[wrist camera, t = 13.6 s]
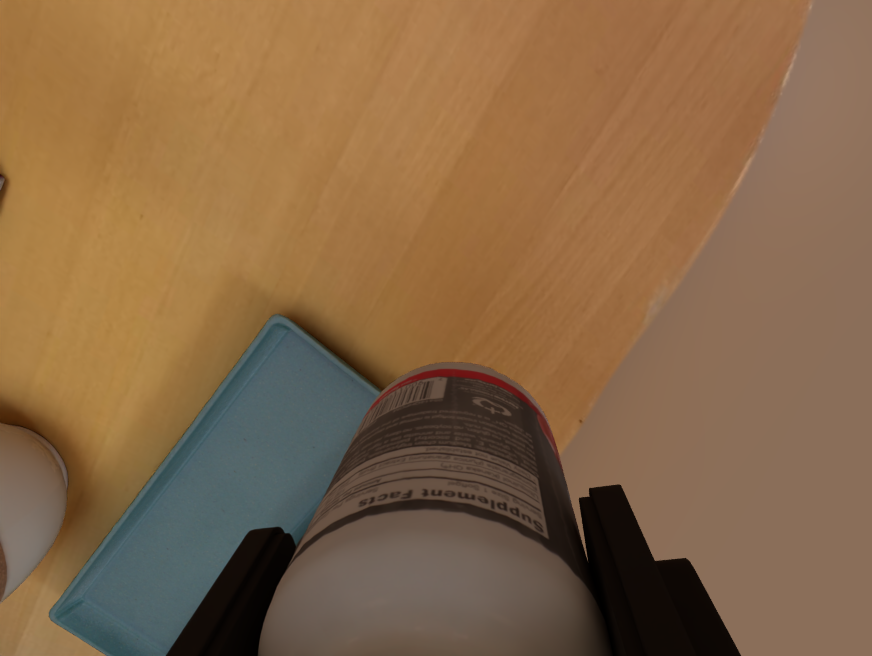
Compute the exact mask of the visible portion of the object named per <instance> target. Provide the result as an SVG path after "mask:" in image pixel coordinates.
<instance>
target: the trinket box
mask: <svg viewBox="0 0 872 656" xmlns="http://www.w3.org/2000/svg"><path fill="white" fill-rule="evenodd" d="M67 488H68V475H67V470H66V467H65V464H64V462H63V460H62V458H61V457H60V455H59V453H58V452H57V451H56V450H55V448H54V447H53V446H52V445H51V444H50V443H49V442H48V441H47V440H45V439H44V438H43V437H41V436H40V435H38V434H37V433H35V432H33V431H31V430H29V429H26V428H23V427H19V426H15V425H7V424H3V423H0V603H2V602H3V601H4V600H5V599H6V598H7V597H8V596H10V595H11V594H12V593H13V592H14V591H15V590H16V589H17V588H18V587H19V586H20V585H21V584H22V583H23V582H24V581H25V580H26V579H27V578H28V576H29V575H30V574H31V573H32V572H33V571H34V570H35V569H36V567H37V566H38V565H39V563H40V562H41V561H42V559H43V558H44V557H45V555H46V554H47V553H48V551H49V550H50V549H51V547H52V546H53V544H54V542H55V540H56V538H57V536H58V534H59V531H60V529H61V527H62V524H63V520H64V517H65V512H66V507H67Z"/></svg>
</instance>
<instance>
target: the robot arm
mask: <svg viewBox="0 0 872 656" xmlns="http://www.w3.org/2000/svg"><path fill="white" fill-rule="evenodd" d="M589 496H590V497H582V498H579V504H580V510H581V517H582V524H583V530H584V537H585V543H586V550H587V557H588V564H589V567H590V571H591V574H592V578H593V581H594V584H595V587H596V590H597V594H598V597H599V600H600V604H601V607H602V610H603V613H604V616H605V619H606V622H607V627H608V632H609V637H610V642H611V648H612V653H613V656H741V655H740V653H739V651H738V649H737V647H736V645H735V643H734V642H733V640H732V638H731V636H730V634H729V632H728V630H727V629H726V627H725V625H724V623H723V621H722V619H721V618H720V616H719V614H718V612H717V610H716V608H715V606H714V604H713V603H712V601H711V599H710V597H709V595H708V593H707V591H706V590H705V588H704V586H703V584H702V582H701V580H700V579H699V577H698V575H697V573H696V571H695V569H694V567H693V566H692V564H691V563H690V561H689V560H688V559H686V558H682V559H671V560H662V561H654V558H653V556H652V554H651V552H650V549H649V547H648V545H647V543H646V540H645V538H644V536H643V534H642V531H641V529H640V527H639V525H638V522H637V520H636V518H635V516H634V513H633V511H632V509H631V507H630V505H629V502H628V500H627V498H626V495H625V493H624V491H623V489H622V487H621V485H611V486H603V487H595V488H589ZM295 549H296V545H295V542H294V539H293V537H292V535H291V534H290V533H285V532H284V530H283V529H282V528H281V527H278V526H277V527H269V528H261V529H253V530H250V531H249V532H248V533H247V534H246V536H245V537H244V539H243V540H242V542H241V543H240V545H239V546H238V548H237V549H236V551H235V552H234V554H233V555H232V557H231V558H230V560H229V561H228V563H227V564H226V566H225V567H224V569H223V570H222V572H221V573H220V575H219V576H218V578H217V579H216V581H215V582H214V584H213V585H212V587H211V588H210V590H209V591H208V593H207V594H206V596H205V597H204V599H203V600H202V602H201V603H200V605H199V606H198V608H197V609H196V611H195V612H194V614H193V615H192V617H191V618H190V620H189V621H188V623H187V624H186V626H185V627H184V629H183V630H182V632H181V633H180V635H179V636H178V638H177V639H176V641H175V642H174V644H173V645H172V647H171V648H170V650H169V651H168V653H167V654H166V656H258V648H259V641H260V635H261V631H262V627H263V623H264V620H265V617H266V614H267V611H268V609H269V606H270V604H271V601H272V599H273V596H274V593H275V591H276V588H277V586H278V584H279V582H280V580H281V578H282V576H283V575H284V573H285V571H286V569H287V567H288V566H289V564H290V562H291V560H292V558H293V555H294V552H295Z"/></svg>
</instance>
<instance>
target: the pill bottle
mask: <svg viewBox="0 0 872 656" xmlns="http://www.w3.org/2000/svg"><path fill="white" fill-rule="evenodd" d="M258 656H613V653H612V648H611V642H610V637H609V632H608V627H607V622H606V619H605V616H604V613H603V610H602V607H601V604H600V600H599V597H598V594H597V590H596V587H595V584H594V581H593V578H592V574H591V571H590V567H589V564H588V561H587V557H586V554H585V551H584V547H583V544H582V540H581V537H580V533H579V529H578V525H577V522H576V518H575V514H574V511H573V508H572V504H571V500H570V496H569V492H568V488H567V484H566V481H565V477H564V473H563V469H562V465H561V461H560V457H559V453H558V450H557V447H556V443H555V440H554V437H553V434H552V431H551V428H550V425H549V423H548V420H547V418H546V416H545V414H544V412H543V411H542V409H541V408H540V406H539V405H538V403H537V402H536V401H535V400H534V398H533V397H532V396H531V395H530V394H529V393H528V392H527V391H526V390H525V389H524V388H523V387H522V386H521V385H519V384H518V383H516V382H515V381H513V380H512V379H510V378H508V377H507V376H505V375H503V374H500V373H498V372H497V371H495V370H493V369H491V368H488V367H485V366H481V365H477V364H472V363H462V362H441V363H435V364H429V365H426V366H423V367H420V368H417V369H415V370H412V371H410V372H408V373H406V374H404V375H402V376H400V377H399V378H397V379H396V380H395V381H394V382H392V383H391V384H390V385H388V386H387V387H386V388H385V389H384V390H383V391H382V392H381V393H380V394H379V396H378V397H377V398H376V399H375V401H374V402H373V403H372V405H371V406H370V408H369V410H368V411H367V413H366V415H365V417H364V418H363V420H362V422H361V424H360V426H359V427H358V429H357V431H356V433H355V435H354V437H353V439H352V441H351V443H350V445H349V447H348V449H347V451H346V453H345V455H344V457H343V459H342V461H341V463H340V465H339V467H338V469H337V471H336V473H335V475H334V477H333V479H332V481H331V483H330V485H329V487H328V489H327V491H326V493H325V495H324V497H323V499H322V501H321V503H320V505H319V506H318V508H317V510H316V512H315V515H314V517H313V518H312V520H311V522H310V524H309V526H308V528H307V530H306V532H305V534H304V535H303V536H302V538H301V539H300V540H299V542H298V544H297V546H296V549H295V552H294V555H293V558H292V560H291V562H290V564H289V566H288V567H287V569H286V571H285V573H284V575H283V576H282V578H281V580H280V582H279V584H278V586H277V588H276V591H275V593H274V596H273V599H272V601H271V604H270V606H269V609H268V611H267V614H266V617H265V620H264V623H263V627H262V631H261V635H260V641H259V648H258Z"/></svg>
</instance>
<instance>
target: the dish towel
mask: <svg viewBox="0 0 872 656" xmlns="http://www.w3.org/2000/svg"><path fill="white" fill-rule="evenodd" d="M4 181H5V179H4V177H2V176H1V175H0V190H1V188H2V186H3V183H4Z"/></svg>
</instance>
